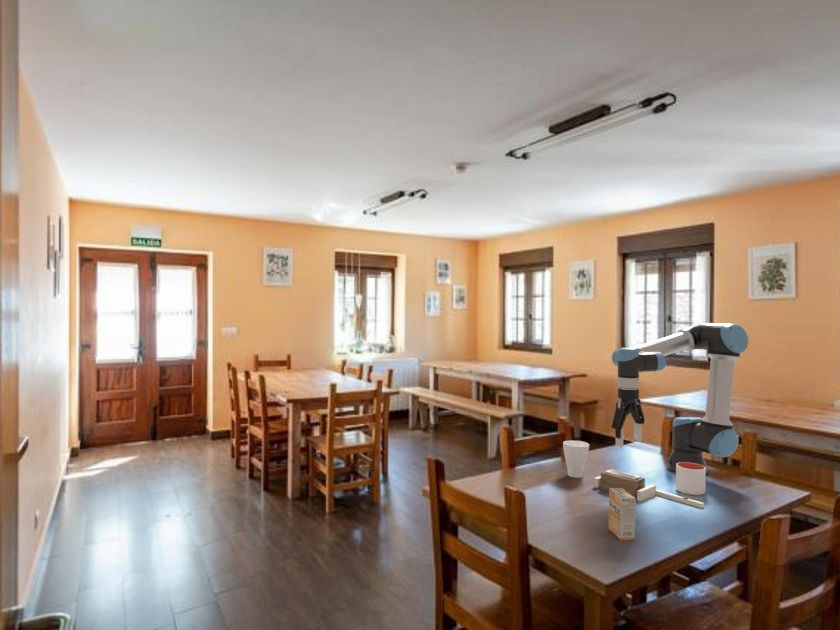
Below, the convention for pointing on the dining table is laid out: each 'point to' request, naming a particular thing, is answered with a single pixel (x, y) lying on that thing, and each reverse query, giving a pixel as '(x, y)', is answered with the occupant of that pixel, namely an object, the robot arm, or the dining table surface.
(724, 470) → the dining table surface
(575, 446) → the cup
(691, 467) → the cup
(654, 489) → the notch rail
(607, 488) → the wooden block
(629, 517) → the supplement box
